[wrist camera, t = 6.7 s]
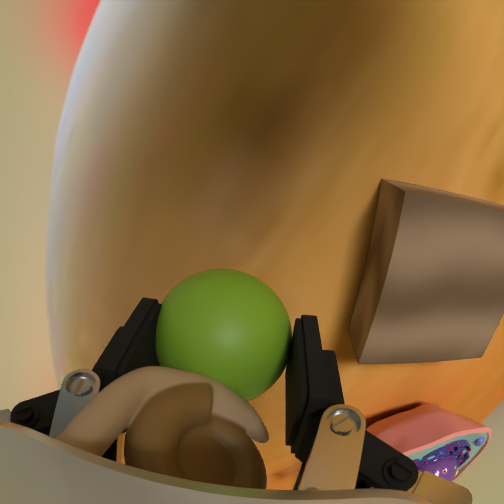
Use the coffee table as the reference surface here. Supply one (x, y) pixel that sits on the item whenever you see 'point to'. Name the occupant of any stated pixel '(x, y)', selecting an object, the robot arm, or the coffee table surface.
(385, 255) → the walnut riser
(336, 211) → the coffee table surface
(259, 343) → the snail figurine
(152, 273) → the coffee table surface
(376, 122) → the coffee table surface
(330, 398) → the robot arm
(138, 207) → the coffee table surface
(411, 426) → the cell model
